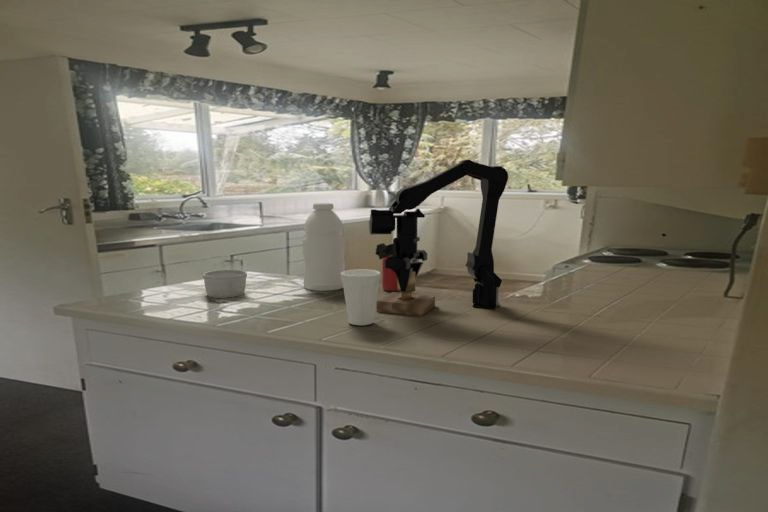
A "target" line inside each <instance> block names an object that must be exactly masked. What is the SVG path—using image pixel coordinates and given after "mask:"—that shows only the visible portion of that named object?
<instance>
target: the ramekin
mask: <svg viewBox="0 0 768 512" xmlns="http://www.w3.org/2000/svg"><path fill="white" fill-rule="evenodd" d="M247 273H248V272H247V271H246V270H242V269H241V270H240V269H219V270H218V269H216V270H210V271H206V272H204V273H203V274H202V278H203V281H204V288H205V292H206V294H207V296H208V297H209V298H213V299H228V298H227V297H232V298H235V297H234V296H237V297H240V296H239V295H241V296H243V294H244V293H245V290H246V284H247V277H248V274H247Z"/></svg>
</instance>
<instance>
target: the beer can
mask: <svg viewBox="0 0 768 512" xmlns="http://www.w3.org/2000/svg"><path fill="white" fill-rule="evenodd" d="M391 256H392V255H390V256H389V257H391ZM389 257H386V258H383V259H381V260H382V263H381V265H382V269H381V270H382V271H381V273H382V274H381V275H382V277H381V279H382V283H381V284H382V285H381V287H382V290H383V291H385V292H391V293H392V292H399V291H398V290H397V275H396V273H395V272H394V271H393V270H390V269H388V268H385V267H384V261H385V260H386V259H387V258H389Z"/></svg>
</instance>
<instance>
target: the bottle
mask: <svg viewBox="0 0 768 512" xmlns="http://www.w3.org/2000/svg"><path fill="white" fill-rule="evenodd" d="M312 204H313V205H312V209H313V211H312V212H311V214H309V216H308V217H307V218H306V221H305V223H304V224H303V225H304V226H303V231H305V233H306V234H305V236H304V237H303V238H302V252H303V253H302V254H303V256H302V257H303V260H302V261H303V288H304V289H306V290H309V291H316V292H320V291H321V292H325V291H326V292H327V291H338V290H341V289H344V288H343V282H342V279H341V272H343V271H346V270H345V269H346V267H345V265H346V263H345V259H346V258H345V257H346V256H345V243H346V239H345V237H344V236H343V235H342V231H344V230H345V229H344V225H343V222H342V221H341V219H340V217H339V216H338V215H337V214H336V212H335V211H333V209H334V204H333V203H330V202H329V203H328V202H321V203H319V202H318V203H312Z"/></svg>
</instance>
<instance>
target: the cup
mask: <svg viewBox="0 0 768 512" xmlns="http://www.w3.org/2000/svg"><path fill="white" fill-rule="evenodd" d="M381 273H382V272H380V271H379V270H376V269H366V268H360V269H359V268H357V269H347V270H345V271H343V272H341V279H342V282H343V288H342V289H343V292H344V293H343V294H344V301H345V305H346V312H347V319H348V323H349V324H351V325H354V326H368V325H371V324H373V323H374V321H375V315H376V309H377V300H378V293H379V288H380V287H379V286H380V282H381V278H382V277H381V275H382V274H381Z"/></svg>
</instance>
